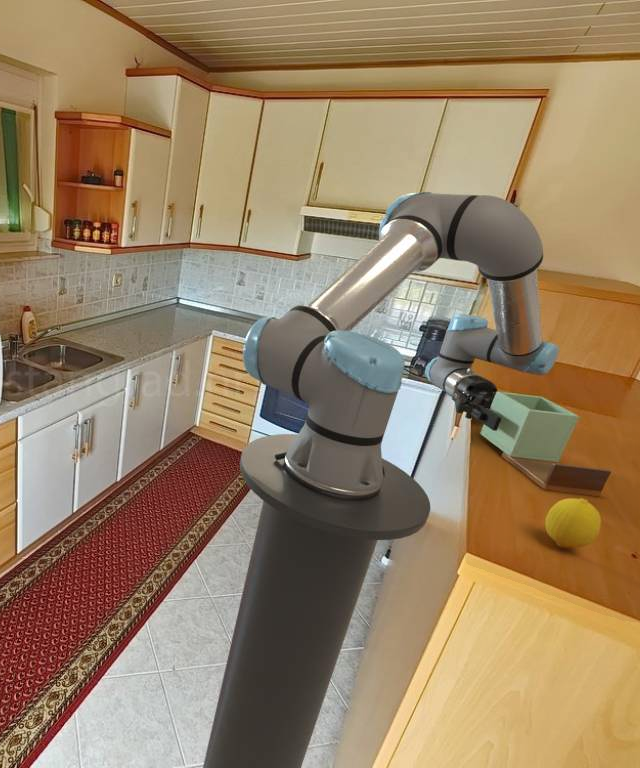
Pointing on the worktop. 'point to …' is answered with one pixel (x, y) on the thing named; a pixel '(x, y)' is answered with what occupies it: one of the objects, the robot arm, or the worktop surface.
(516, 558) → the worktop surface
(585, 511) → the lemon
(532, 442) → the container
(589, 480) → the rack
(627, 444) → the worktop surface
